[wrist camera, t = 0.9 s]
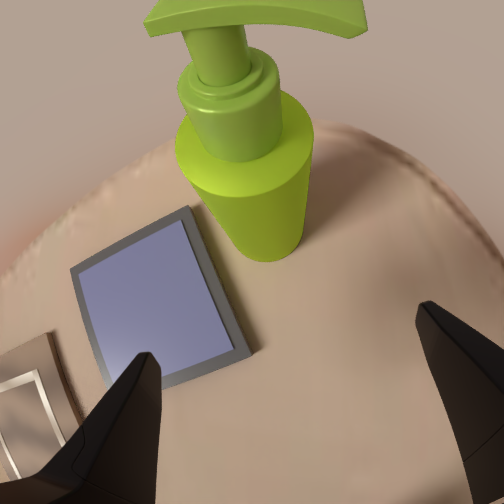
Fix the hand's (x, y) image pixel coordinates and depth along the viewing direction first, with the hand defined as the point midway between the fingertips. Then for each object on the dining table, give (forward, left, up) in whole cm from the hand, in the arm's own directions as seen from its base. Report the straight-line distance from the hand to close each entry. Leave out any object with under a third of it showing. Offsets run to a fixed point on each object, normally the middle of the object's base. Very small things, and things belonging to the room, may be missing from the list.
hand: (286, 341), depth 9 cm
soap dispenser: (+8, -2, -14) cm, 16 cm away
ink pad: (+6, +10, -14) cm, 18 cm away
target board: (-2, +32, -14) cm, 35 cm away
